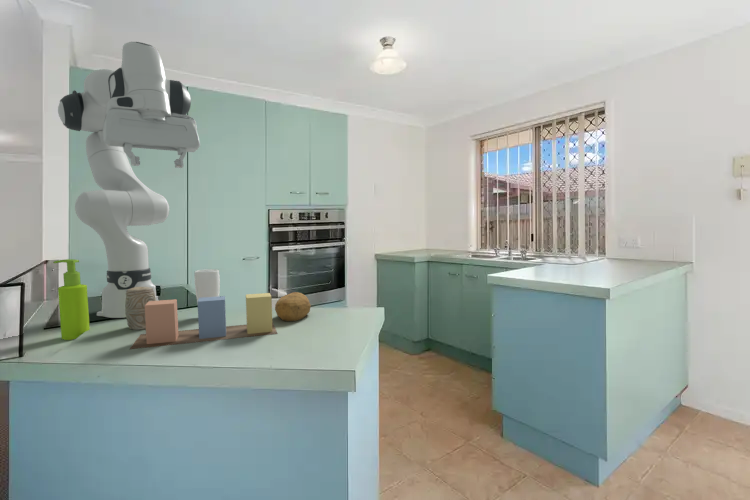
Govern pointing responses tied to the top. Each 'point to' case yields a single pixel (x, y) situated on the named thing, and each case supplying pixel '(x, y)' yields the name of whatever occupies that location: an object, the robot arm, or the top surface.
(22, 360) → the top surface
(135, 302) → the carving
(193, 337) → the walnut board
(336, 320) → the top surface
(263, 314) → the ochre block
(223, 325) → the slate block
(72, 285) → the soap dispenser
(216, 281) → the white rectangular block
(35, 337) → the top surface
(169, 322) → the terracotta block
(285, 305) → the potato
